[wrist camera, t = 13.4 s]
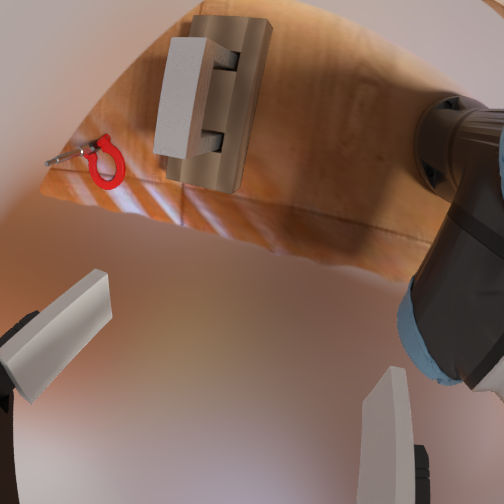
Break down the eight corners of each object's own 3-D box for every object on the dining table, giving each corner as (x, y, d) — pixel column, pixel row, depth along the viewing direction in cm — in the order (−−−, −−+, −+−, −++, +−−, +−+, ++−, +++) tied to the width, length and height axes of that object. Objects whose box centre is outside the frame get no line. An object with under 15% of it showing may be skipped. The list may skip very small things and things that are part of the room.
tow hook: (134, 175, 47) (112, 130, 44) (83, 201, 36) (57, 145, 32) (105, 195, 50) (84, 153, 47) (57, 222, 39) (33, 172, 36)
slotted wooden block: (273, 27, 31) (266, 19, 28) (240, 187, 42) (231, 194, 39) (205, 22, 33) (193, 15, 29) (178, 173, 44) (165, 178, 40)
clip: (244, 59, 34) (206, 37, 23) (227, 146, 40) (185, 159, 29) (217, 56, 35) (171, 37, 23) (201, 141, 41) (153, 153, 30)
